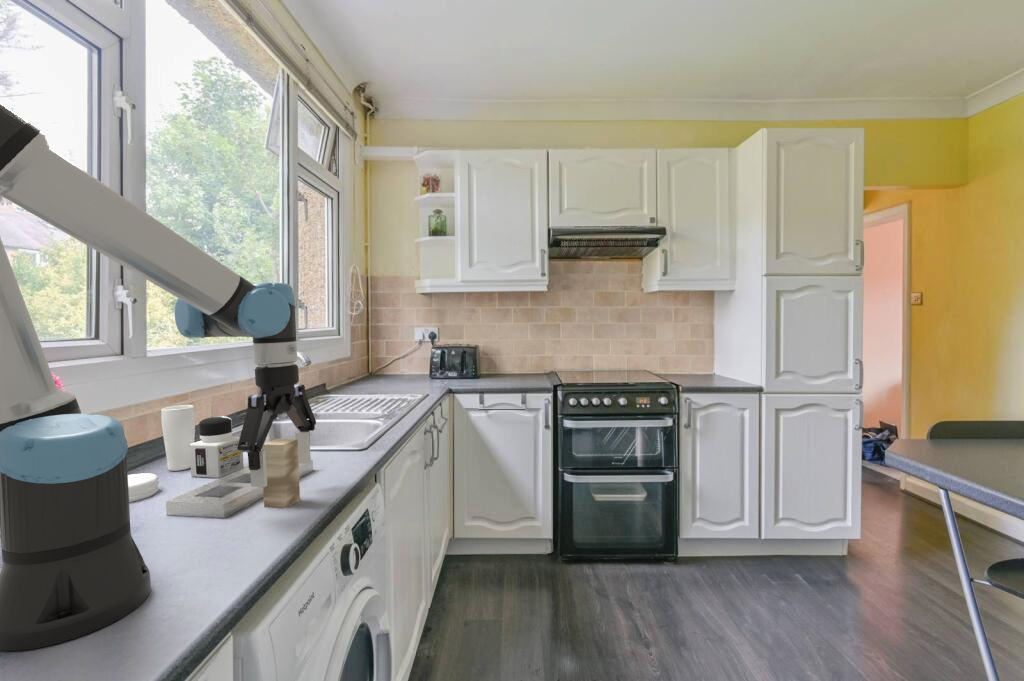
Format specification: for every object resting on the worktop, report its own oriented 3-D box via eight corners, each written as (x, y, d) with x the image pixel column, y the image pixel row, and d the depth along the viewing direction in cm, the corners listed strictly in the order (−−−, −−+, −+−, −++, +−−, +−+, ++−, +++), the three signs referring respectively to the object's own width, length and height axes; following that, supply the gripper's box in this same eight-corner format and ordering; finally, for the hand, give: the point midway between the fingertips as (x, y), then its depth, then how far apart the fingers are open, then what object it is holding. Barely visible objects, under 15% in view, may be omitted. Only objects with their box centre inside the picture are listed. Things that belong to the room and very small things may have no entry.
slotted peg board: (224, 518, 89) (223, 503, 88) (166, 514, 91) (165, 500, 91) (313, 470, 116) (312, 459, 116) (267, 468, 118) (267, 457, 118)
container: (219, 478, 112) (216, 421, 111) (190, 477, 113) (187, 420, 112) (244, 468, 119) (241, 414, 118) (216, 467, 121) (214, 414, 120)
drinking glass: (164, 467, 121) (161, 406, 120) (197, 462, 125) (194, 403, 124) (163, 474, 115) (160, 410, 115) (197, 469, 119) (194, 407, 119)
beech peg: (285, 508, 93) (283, 445, 92) (264, 507, 94) (261, 444, 93) (300, 499, 97) (297, 439, 97) (279, 498, 98) (276, 438, 97)
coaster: (90, 499, 100) (89, 482, 100) (148, 485, 109) (147, 469, 108) (106, 509, 95) (105, 491, 94) (166, 494, 103) (165, 477, 103)
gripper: (248, 372, 81) (256, 498, 83) (329, 357, 106) (335, 455, 107) (208, 373, 83) (216, 497, 84) (298, 358, 107) (303, 454, 108)
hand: (283, 474), depth 95 cm, fingers open, 13 cm apart
